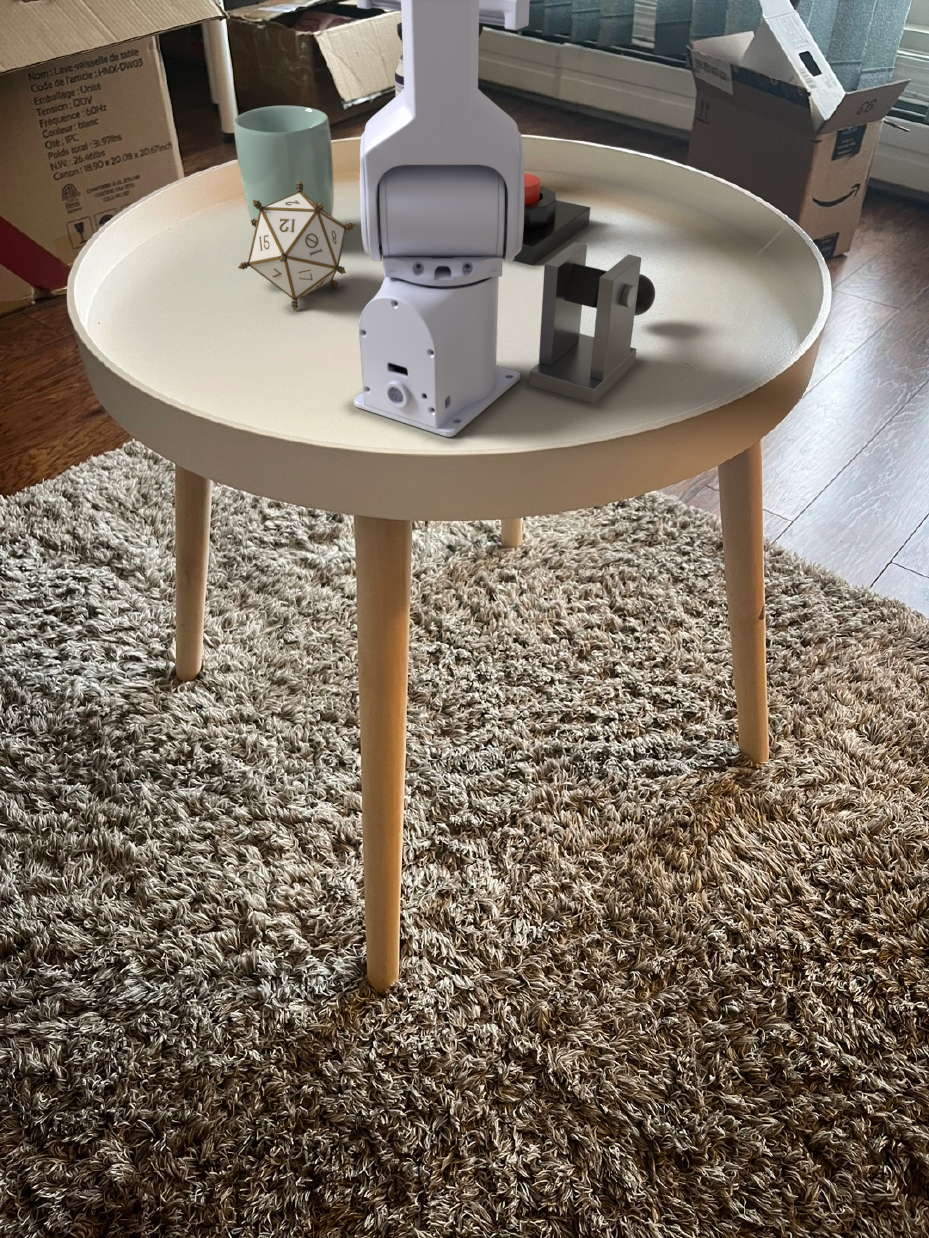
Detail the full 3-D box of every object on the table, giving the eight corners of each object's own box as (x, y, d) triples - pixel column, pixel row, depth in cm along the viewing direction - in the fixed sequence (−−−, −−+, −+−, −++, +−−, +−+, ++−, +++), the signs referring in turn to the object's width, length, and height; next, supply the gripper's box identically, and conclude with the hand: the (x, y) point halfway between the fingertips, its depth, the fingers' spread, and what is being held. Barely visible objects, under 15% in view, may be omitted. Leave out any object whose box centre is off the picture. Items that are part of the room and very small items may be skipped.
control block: (504, 207, 96) (505, 169, 94) (589, 225, 93) (592, 186, 90) (443, 245, 89) (443, 205, 87) (532, 267, 86) (534, 225, 83)
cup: (355, 233, 91) (346, 114, 84) (300, 262, 86) (286, 139, 79) (288, 216, 94) (275, 100, 87) (232, 243, 89) (213, 122, 82)
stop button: (511, 190, 91) (512, 170, 89) (546, 198, 89) (547, 178, 88) (491, 202, 88) (491, 182, 87) (527, 210, 87) (528, 190, 86)
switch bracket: (567, 345, 75) (576, 234, 69) (641, 365, 73) (656, 252, 67) (522, 384, 70) (527, 269, 65) (599, 407, 68) (612, 289, 62)
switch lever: (617, 311, 77) (628, 271, 76) (654, 320, 76) (665, 280, 75) (557, 303, 67) (568, 257, 66) (597, 314, 66) (609, 266, 65)
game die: (302, 327, 85) (307, 206, 84) (372, 317, 80) (379, 188, 79) (214, 304, 78) (219, 172, 77) (285, 292, 73) (291, 150, 72)
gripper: (552, -81, 73) (542, 119, 82) (388, -96, 78) (395, 93, 88) (505, -69, 68) (499, 142, 77) (334, -85, 74) (348, 113, 83)
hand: (441, 118), depth 82 cm, fingers closed
